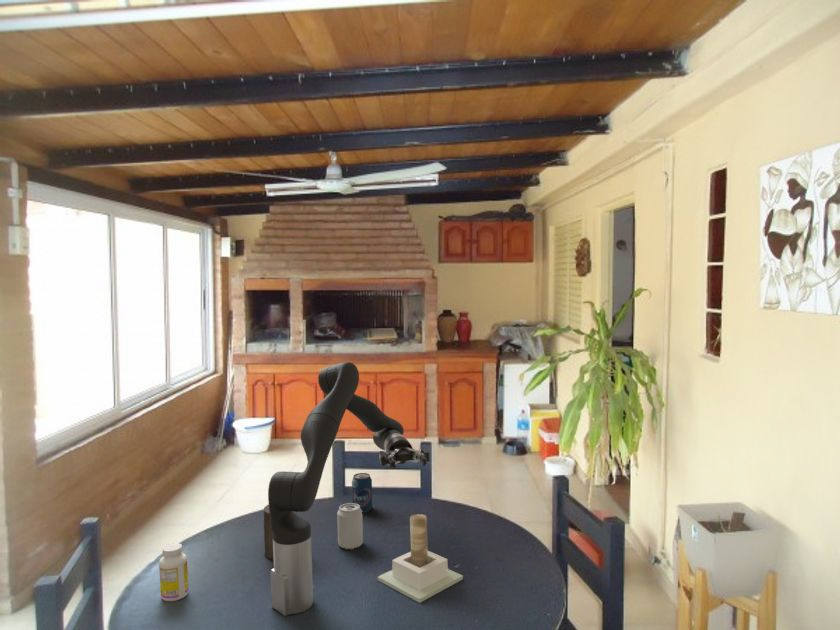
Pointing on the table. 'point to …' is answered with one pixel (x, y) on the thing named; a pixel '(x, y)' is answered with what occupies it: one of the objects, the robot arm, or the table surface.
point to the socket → (420, 577)
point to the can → (350, 526)
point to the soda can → (362, 491)
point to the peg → (418, 540)
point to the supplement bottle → (173, 573)
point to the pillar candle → (268, 534)
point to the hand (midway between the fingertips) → (409, 464)
